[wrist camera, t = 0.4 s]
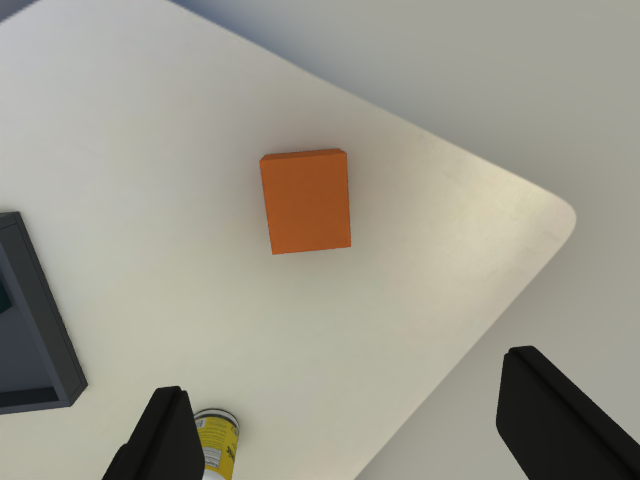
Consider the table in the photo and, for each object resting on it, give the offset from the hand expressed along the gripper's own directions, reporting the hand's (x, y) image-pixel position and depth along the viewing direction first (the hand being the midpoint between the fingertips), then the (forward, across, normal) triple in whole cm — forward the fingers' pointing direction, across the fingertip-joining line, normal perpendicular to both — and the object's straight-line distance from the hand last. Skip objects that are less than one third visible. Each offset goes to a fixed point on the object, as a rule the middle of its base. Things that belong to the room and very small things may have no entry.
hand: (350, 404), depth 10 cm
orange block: (+20, 0, -2) cm, 20 cm away
